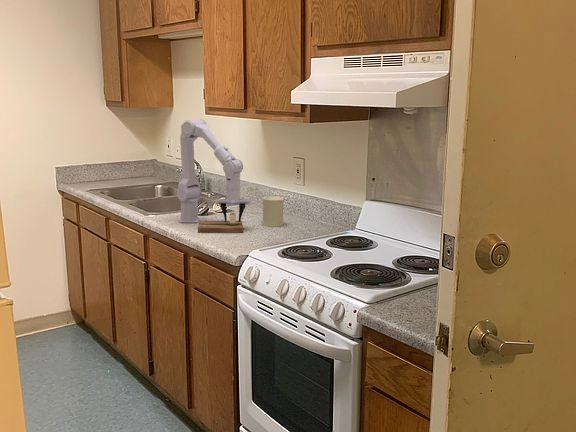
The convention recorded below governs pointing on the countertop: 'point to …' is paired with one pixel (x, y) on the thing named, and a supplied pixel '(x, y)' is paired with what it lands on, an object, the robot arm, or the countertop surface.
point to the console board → (219, 227)
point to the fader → (232, 218)
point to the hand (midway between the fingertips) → (232, 221)
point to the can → (273, 211)
